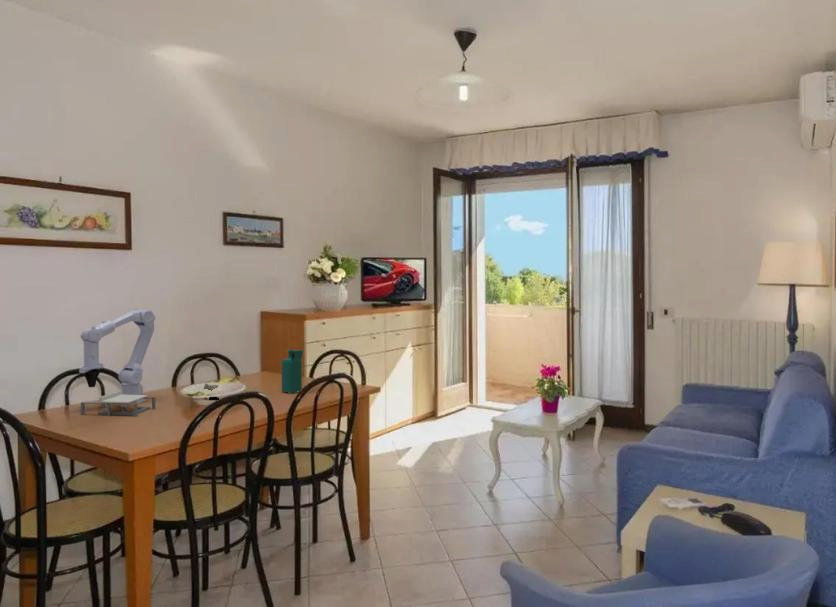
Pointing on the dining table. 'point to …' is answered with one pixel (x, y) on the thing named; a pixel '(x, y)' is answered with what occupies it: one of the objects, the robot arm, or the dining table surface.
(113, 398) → the lid
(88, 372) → the robot arm
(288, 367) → the teal bottle
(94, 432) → the dining table surface
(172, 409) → the dining table surface
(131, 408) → the brown round cylinder
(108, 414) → the grey base stand
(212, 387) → the caster wheel
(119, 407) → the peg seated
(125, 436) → the dining table surface
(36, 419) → the dining table surface
